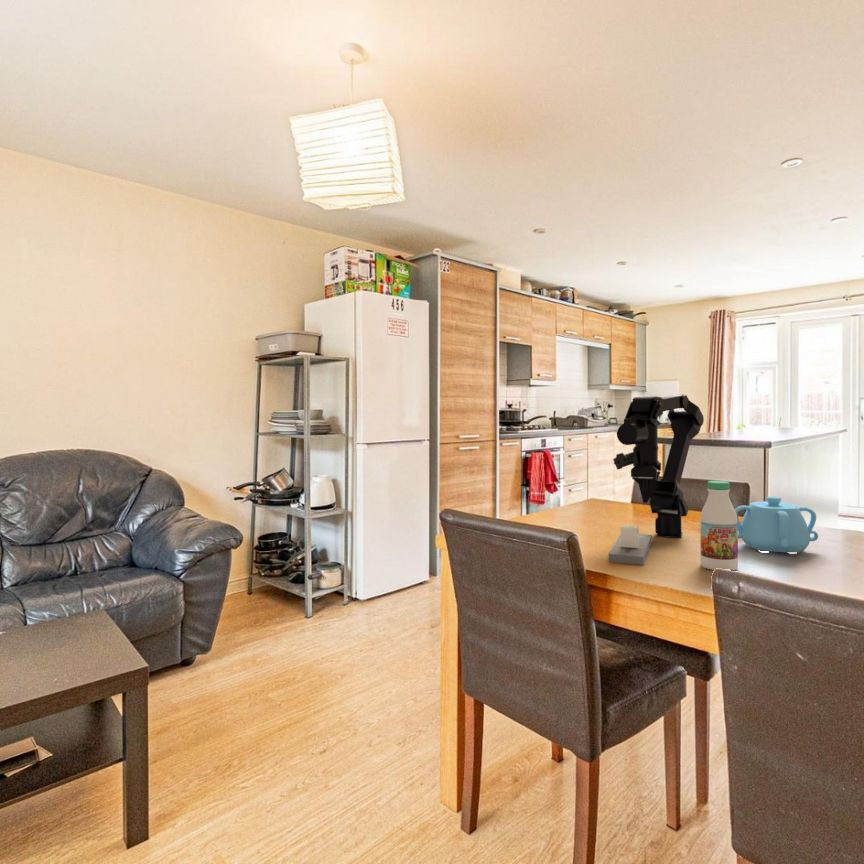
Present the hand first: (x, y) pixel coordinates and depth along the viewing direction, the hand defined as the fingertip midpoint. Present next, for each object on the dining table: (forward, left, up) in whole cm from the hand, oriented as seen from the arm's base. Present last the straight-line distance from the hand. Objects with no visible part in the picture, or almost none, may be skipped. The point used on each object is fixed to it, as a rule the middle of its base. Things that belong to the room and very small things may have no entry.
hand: (646, 499), depth 152 cm
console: (+3, +10, -12) cm, 16 cm away
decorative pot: (-30, -4, -12) cm, 33 cm away
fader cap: (+3, +14, -10) cm, 17 cm away
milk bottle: (-17, +18, -12) cm, 28 cm away
